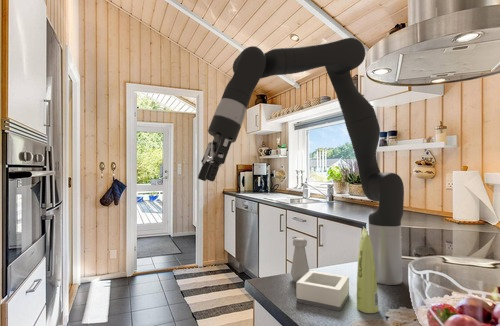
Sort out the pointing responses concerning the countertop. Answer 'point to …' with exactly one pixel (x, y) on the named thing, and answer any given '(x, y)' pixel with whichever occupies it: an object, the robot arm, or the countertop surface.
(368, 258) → the tube
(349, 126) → the robot arm
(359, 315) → the countertop surface
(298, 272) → the salt shaker
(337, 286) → the socket dock
